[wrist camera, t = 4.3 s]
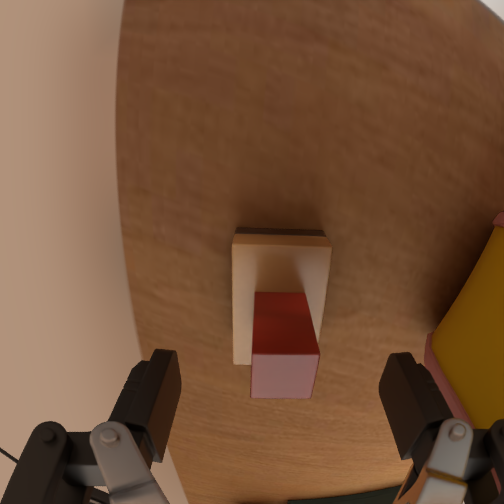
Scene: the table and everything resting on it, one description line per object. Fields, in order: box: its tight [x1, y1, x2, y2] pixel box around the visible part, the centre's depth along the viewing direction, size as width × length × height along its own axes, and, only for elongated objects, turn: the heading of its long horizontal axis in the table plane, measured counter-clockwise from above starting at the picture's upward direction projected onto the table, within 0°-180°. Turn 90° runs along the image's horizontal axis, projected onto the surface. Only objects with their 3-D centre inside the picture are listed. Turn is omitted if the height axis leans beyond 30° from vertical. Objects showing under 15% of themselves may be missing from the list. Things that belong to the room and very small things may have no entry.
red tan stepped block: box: [232, 228, 333, 399], centre depth 14 cm, size 4×7×7 cm, turn 179°
